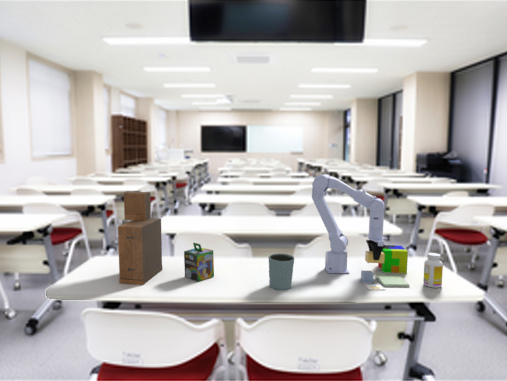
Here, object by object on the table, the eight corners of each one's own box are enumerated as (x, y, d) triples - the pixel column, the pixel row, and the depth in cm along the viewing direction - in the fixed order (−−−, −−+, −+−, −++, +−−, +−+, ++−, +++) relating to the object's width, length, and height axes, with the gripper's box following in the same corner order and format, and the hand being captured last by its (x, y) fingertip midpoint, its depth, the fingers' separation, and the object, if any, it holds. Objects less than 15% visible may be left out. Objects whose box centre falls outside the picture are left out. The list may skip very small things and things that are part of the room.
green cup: (268, 281, 153) (268, 253, 151) (292, 282, 152) (293, 253, 151) (268, 291, 143) (268, 260, 141) (294, 291, 142) (295, 261, 141)
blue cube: (363, 283, 152) (363, 273, 152) (360, 279, 156) (361, 270, 156) (373, 283, 152) (373, 273, 152) (370, 279, 156) (370, 270, 155)
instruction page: (369, 289, 145) (369, 289, 145) (365, 285, 150) (365, 284, 150) (384, 289, 144) (384, 289, 144) (380, 285, 149) (380, 284, 149)
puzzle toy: (400, 266, 174) (401, 245, 173) (406, 273, 164) (407, 251, 163) (378, 265, 175) (379, 244, 174) (383, 272, 165) (384, 250, 164)
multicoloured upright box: (214, 277, 158) (214, 242, 156) (197, 282, 151) (197, 246, 150) (200, 272, 164) (200, 239, 163) (183, 277, 158) (183, 242, 156)
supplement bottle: (443, 285, 150) (445, 254, 149) (439, 289, 145) (441, 257, 144) (425, 281, 154) (427, 251, 153) (421, 285, 149) (422, 254, 148)
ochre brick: (367, 262, 158) (367, 253, 158) (365, 260, 162) (365, 251, 162) (384, 263, 158) (384, 254, 158) (381, 260, 162) (381, 251, 162)
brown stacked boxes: (132, 268, 169) (130, 191, 165) (162, 269, 167) (160, 192, 163) (110, 282, 150) (107, 196, 146) (143, 285, 148) (140, 197, 144)
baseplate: (384, 286, 148) (384, 284, 148) (376, 278, 158) (376, 275, 158) (409, 286, 148) (409, 284, 148) (399, 278, 158) (399, 276, 158)
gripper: (391, 231, 151) (389, 263, 153) (379, 223, 166) (378, 253, 167) (374, 230, 151) (372, 263, 153) (364, 223, 166) (362, 253, 167)
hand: (374, 258), depth 160 cm, fingers closed on ochre brick, 4 cm apart
